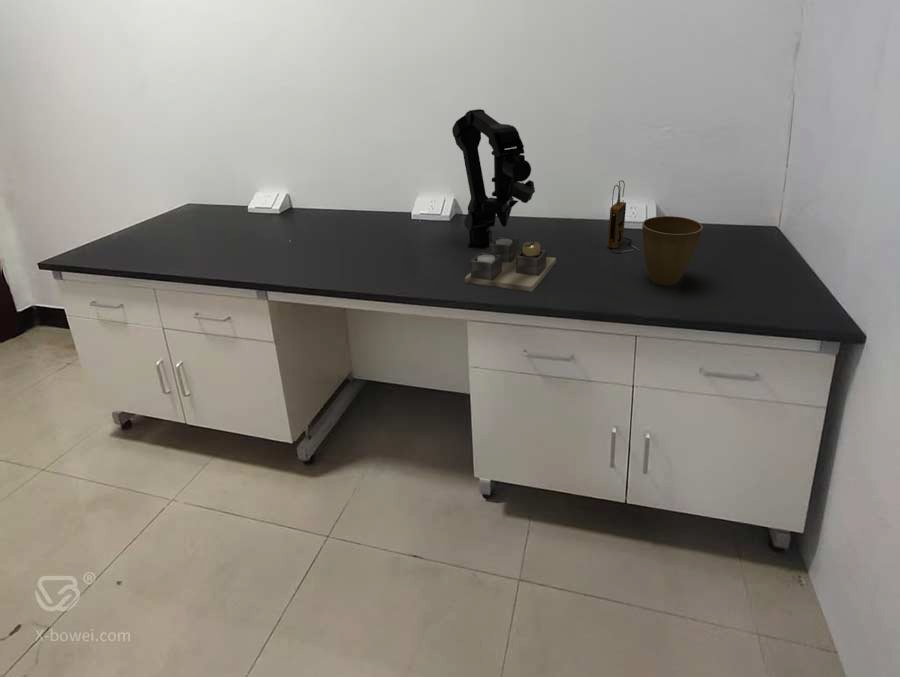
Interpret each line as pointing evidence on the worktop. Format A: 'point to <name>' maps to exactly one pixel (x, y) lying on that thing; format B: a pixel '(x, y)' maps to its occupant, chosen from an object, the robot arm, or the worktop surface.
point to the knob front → (486, 258)
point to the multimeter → (617, 223)
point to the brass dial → (531, 249)
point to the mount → (510, 268)
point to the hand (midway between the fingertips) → (504, 226)
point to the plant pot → (669, 247)
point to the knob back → (504, 242)
